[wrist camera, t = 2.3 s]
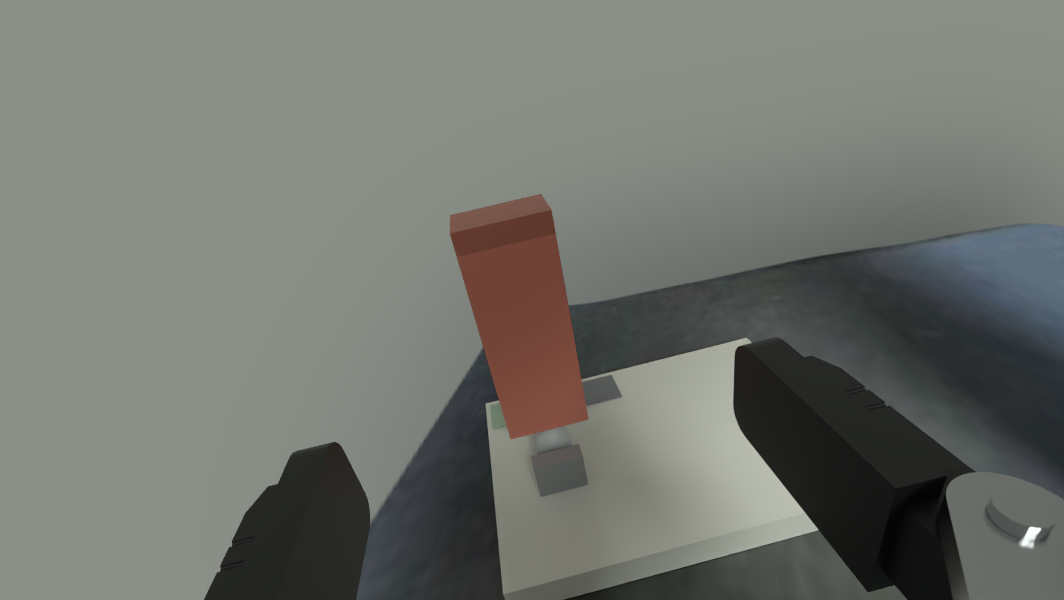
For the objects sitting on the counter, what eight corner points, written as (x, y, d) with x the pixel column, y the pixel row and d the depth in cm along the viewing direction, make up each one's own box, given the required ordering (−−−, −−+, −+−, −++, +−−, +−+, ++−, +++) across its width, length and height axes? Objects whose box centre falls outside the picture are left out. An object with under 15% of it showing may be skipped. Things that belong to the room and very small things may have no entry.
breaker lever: (580, 410, 26) (539, 191, 20) (595, 452, 24) (553, 212, 17) (512, 428, 26) (450, 212, 20) (519, 472, 23) (450, 236, 17)
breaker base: (745, 356, 31) (747, 311, 29) (897, 508, 20) (913, 452, 19) (490, 421, 30) (477, 379, 28) (510, 614, 20) (491, 565, 18)
